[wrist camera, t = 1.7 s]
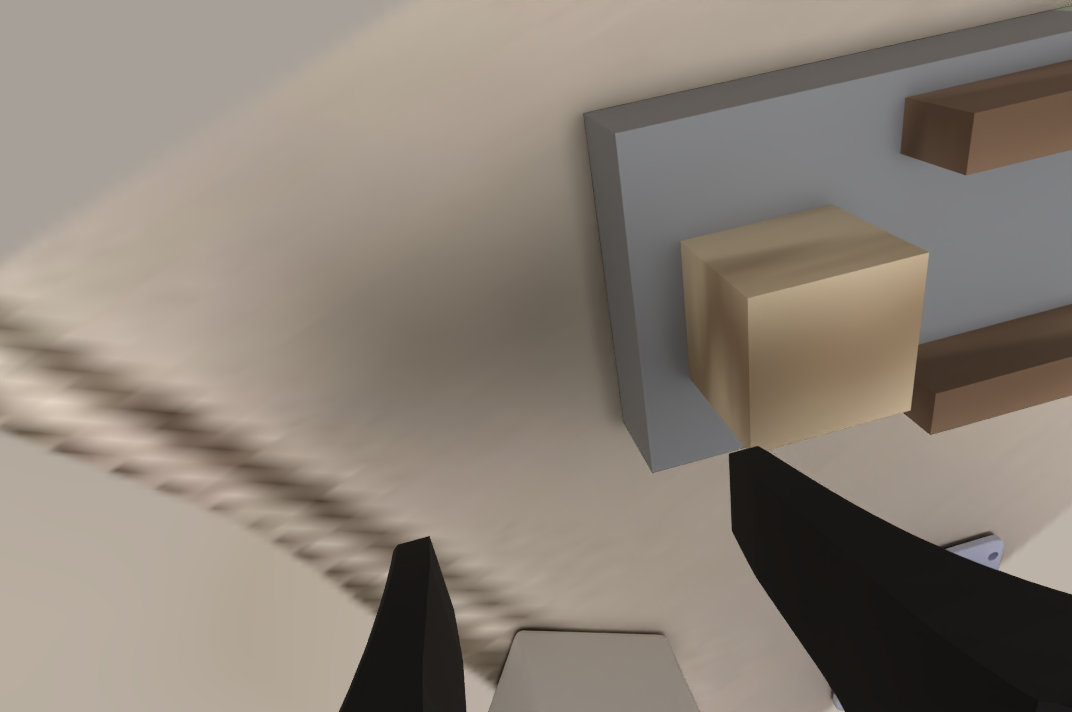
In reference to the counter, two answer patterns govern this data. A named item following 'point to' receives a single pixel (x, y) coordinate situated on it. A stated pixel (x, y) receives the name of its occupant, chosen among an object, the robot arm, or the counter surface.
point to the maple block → (803, 324)
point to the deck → (818, 202)
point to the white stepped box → (591, 674)
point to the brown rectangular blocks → (967, 148)
